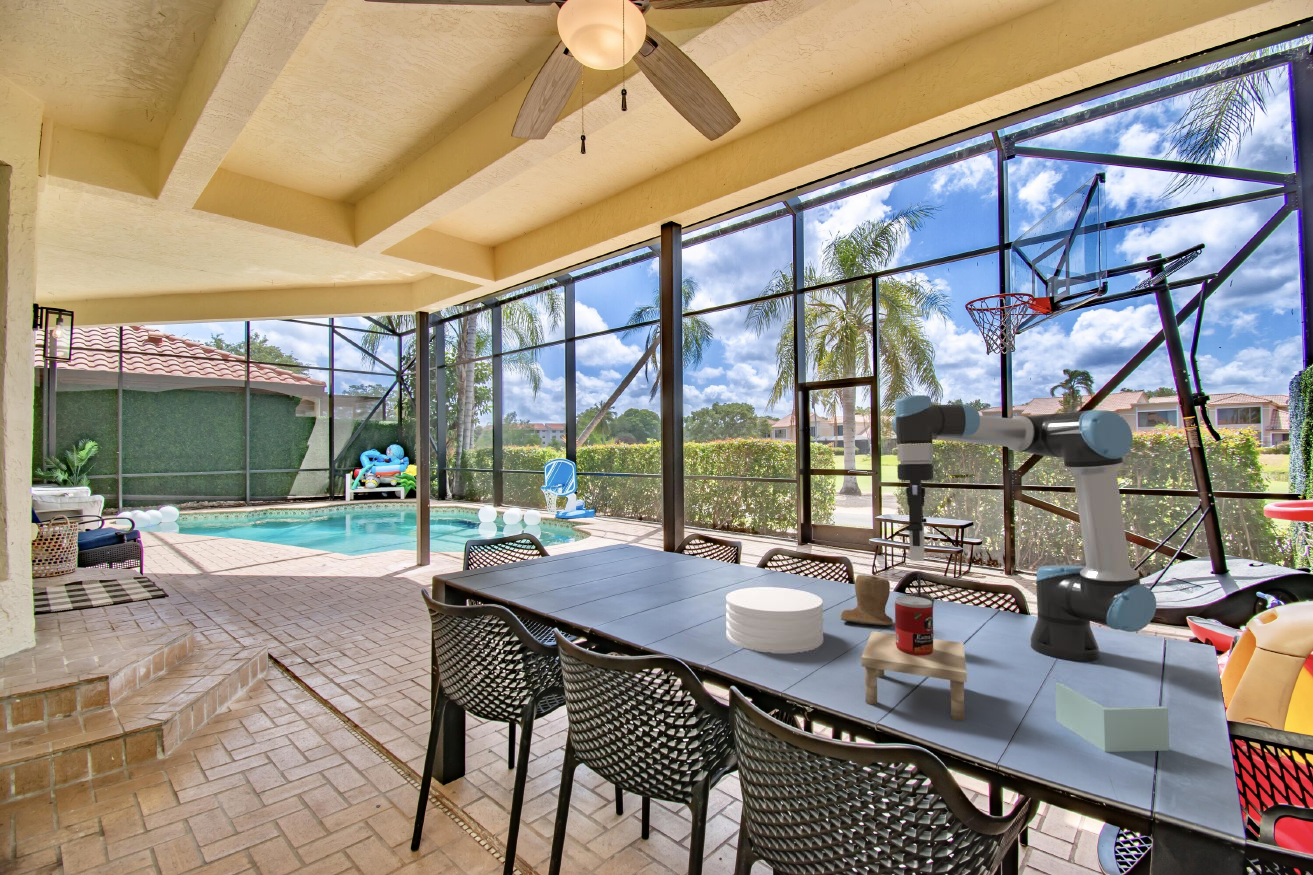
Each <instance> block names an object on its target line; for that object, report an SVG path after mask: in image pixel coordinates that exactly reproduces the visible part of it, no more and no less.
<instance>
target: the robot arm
mask: <svg viewBox="0 0 1313 875" xmlns="http://www.w3.org/2000/svg"><path fill="white" fill-rule="evenodd" d="M931 399H932V398H931V397H930V395H923V394H922V395H921V394H920V395H917V394H915V395H903V396H900V397H898V398H897V399H896V402H895V414H894V416H893V418H892V421H891V428H892V430H893V433H894V434H895V435H896V447H897V448H894V451H893V452H894V453H897V455H896V458H897V462H900V463H898V464H897V467H896V468H897V479H898V480H900V481H909V484H908V487H906V488H905V494H906V501H907V506H908V512H909V513H908V515H909V516H908V517H909V518H908V523H909V524H908V525H907V526H905V531H906V532H908V535H909V538H908V539H909V561H911V562H912V561H913V562H924V561H925V560H924V558H925V557H924V556H925V555H924V553H925V524H927V523H928V522H927V518H925V517H924V510H923V507H924V506H925V498H926V487H923V482H922V481H932V480H933V479H934V465H933V463H931V462H933V461H934V450H933V449H934V446H933V445H934V444H933V440H936V441H946V442H956V443H965V444H967V443H968V444H977V445H986V446H987V445H988V446H998V447H1007V448H1008V449H1010V450H1012V451H1013V452H1018V453H1019V452H1021V453H1028V454H1033V455H1038V456H1044V457H1049V458H1062V459H1063V465H1064V468H1065V469H1067V470H1068V471H1070V472H1071V473H1072V475H1073V483H1074V490H1075V495H1076V503H1077V509H1078V517H1079V524H1080V531H1081V539H1082V544H1083V551H1084V558H1085V559H1084V560H1085V566H1083V565H1065V564H1064V565H1063V564H1062V565H1061V564H1057V565H1056V564H1055V565H1054V564H1053V565H1051V564H1050V565H1042V566H1040V567H1038V569H1037V570H1036V580H1035V582H1036V583H1035V584H1036V605H1037V606H1036V607H1037V608H1036V609H1037V611H1036V612H1037V620H1036V622H1035V626H1034V628H1033V631H1032V634H1031V636H1030V647H1031V649H1033V650H1034V651H1036V652H1038V653H1041V654H1043V655H1045V656H1050V657H1054V658H1058V659H1064V660H1071V661H1081V662H1083V661H1084V662H1085V661H1086V662H1087V661H1095V660H1098V659H1099V658H1100V648H1099V645H1098V643H1097V640H1096V638H1095V634H1094V632H1093V630H1092V627H1091V622H1092V623H1095V624H1099V625H1101V626H1104V627H1105V626H1106V627H1107V628H1110V629H1113V630H1120V631H1124V632H1128V633H1133V632H1134V633H1135V632H1139V631H1141V630H1143V629H1145V628H1146V627H1147V626H1148V625H1149V624H1150V622H1151V621H1152V620H1153V618H1154V617H1155V614H1156V610H1157V597H1156V596H1155V593H1154V592H1153V591H1151V589H1150V588H1149V587H1147V586H1145V585H1143V584H1141V579H1140V573H1139V572H1138V571H1137V570H1135V569H1133V568H1132V567H1131V565H1130V558H1129V553H1128V544H1127V539H1126V538H1127V537H1126V531H1125V530H1126V529H1125V524H1124V516H1123V508H1122V502H1121V494H1120V488H1119V482H1118V481H1119V480H1118V475H1117V471H1118V469H1120V468H1119V467H1121V466H1122V465H1123V464H1124V458H1123V457H1125V456H1127V455H1128V454H1129V453H1130V451H1131V447H1132V446H1133V443H1134V439H1133V438H1134V437H1133V436H1134V435H1133V430H1132V428H1131V425H1129V423H1128V422H1127V420H1126V419H1125V418H1124V417H1123V416H1120V414H1118V413H1116V412H1114V411H1111V410H1100V409H1099V410H1097V409H1090V410H1084V411H1082V410H1081V411H1073V412H1072V411H1070V412H1057V413H1056V412H1055V413H1050V414H1043V415H1033V416H1032V415H1031V416H1030V415H1029V416H1027V415H1016V416H1014V417H1011V418H1008V417H1000V416H989V415H982V414H981V415H980V413H979V411H978V409H976V407H975V406H974V405H970V404H962V403H959V404H933V403H932V400H931Z"/></svg>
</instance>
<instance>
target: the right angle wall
mask: <svg viewBox="0 0 1313 875" xmlns="http://www.w3.org/2000/svg"><path fill="white" fill-rule="evenodd" d="M1054 687H1055V688H1054V690H1055V694H1054V696H1055V721H1056V722H1058V723H1059V724H1061V725H1062V726H1063V727H1065V728H1067V729H1068V730H1070V731H1071V732H1073V733H1074V734H1076V735H1078V736H1079V737H1081V738H1083V739H1084V740H1086V741H1087V742H1089V743H1091V744H1092V745H1093V746H1095V747H1097V748H1098V749H1100V750H1101V751H1103V752H1105V753H1110V752H1111V753H1113V752H1117V753H1120V752H1121V753H1123V752H1150V751H1151V752H1154V751H1155V752H1157V751H1158V752H1160V751H1170V738H1169V737H1170V734H1169V733H1170V732H1169V730H1170V728H1169V708H1168V707H1166V706H1162V705H1161V706H1159V705H1158V706H1127V707H1126V706H1124V707H1123V706H1121V707H1120V706H1116V707H1106V706H1103V705H1101V704H1100V703H1098V702H1096V701H1094V700H1092V699H1091V698H1088V697H1087V696H1086V695H1084V694H1081V693H1079V692H1077V691H1076V690H1074V689H1072V688H1070V687H1068V686H1067V685H1065V684H1064V683H1061V682H1056V683H1054Z"/></svg>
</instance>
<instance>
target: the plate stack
mask: <svg viewBox="0 0 1313 875" xmlns="http://www.w3.org/2000/svg"><path fill="white" fill-rule="evenodd" d="M725 602H726V604H725V611H726V613H725V619H726V622H725V625H726V626H725V628H726V631H725V636H726V638H727V640H728V641H729V642H730V643H732V644H734V645H736V646H738V647H741V648H744V649H747V650H751V651H754V650H755V651H756V652H761V653H767V652H771V653H770V654H797V652H800V653H805V652H804V651H806V652H809V650H810V651H812V650H816V649H818V648H820V647H821V646H822V645H823V644H822V643H824V618H823V616H824V610H823V607H824V601H823V599H822V598H821V597H820V596H819V595H817V594H814V593H812V592H808V591H805V590H801V589H795V588H787V587H786V588H785V587H775V586H774V587H773V586H769V587H768V586H763V587H761V586H760V587H759V586H757V587H755V586H754V587H747V588H745V587H744V588H740V589H736V590H733V591H730V592H729V593H727V594H726V596H725ZM821 644H822V645H821ZM820 645H821V646H820ZM819 646H820V647H819ZM817 647H818V648H817ZM815 648H816V649H815Z"/></svg>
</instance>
